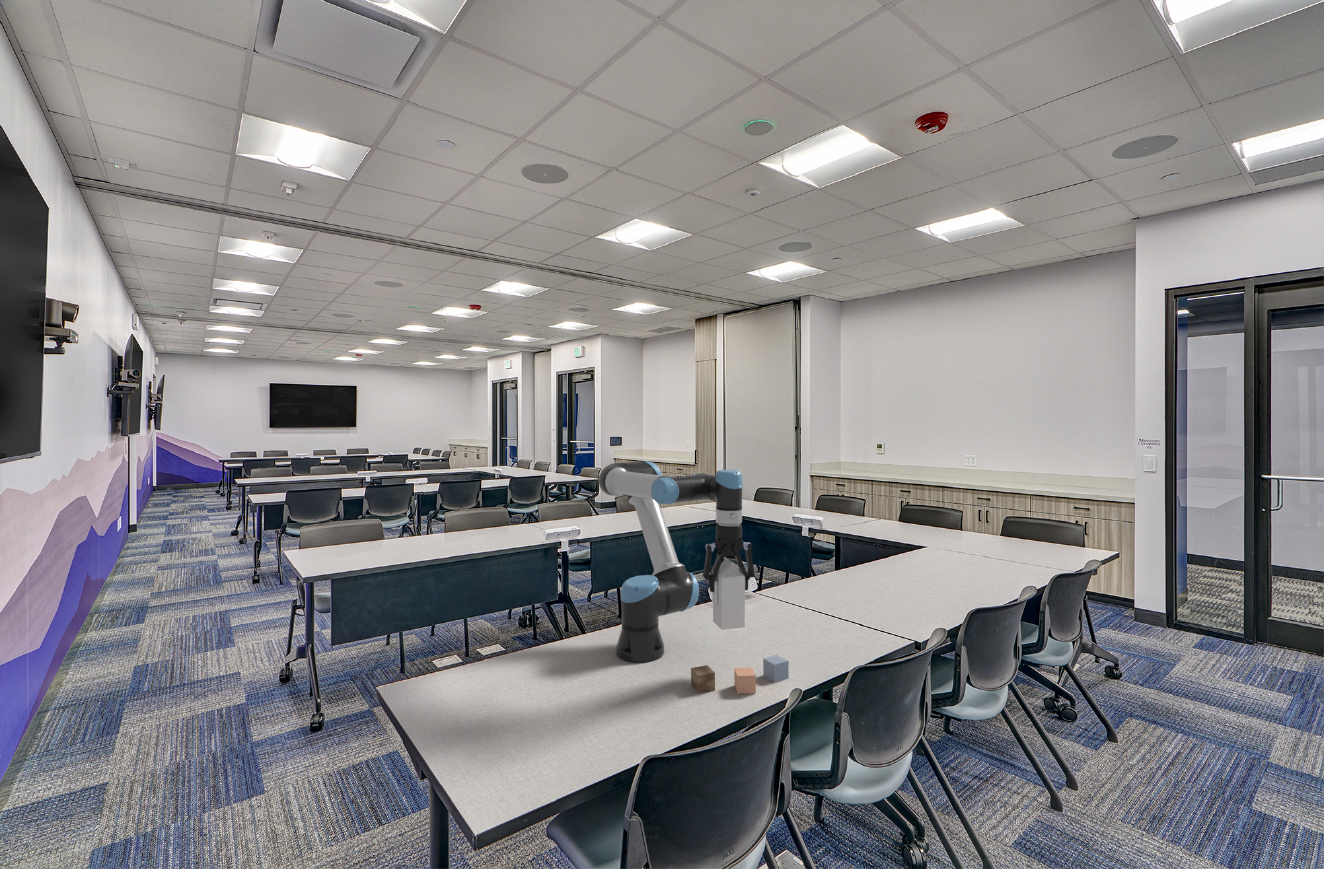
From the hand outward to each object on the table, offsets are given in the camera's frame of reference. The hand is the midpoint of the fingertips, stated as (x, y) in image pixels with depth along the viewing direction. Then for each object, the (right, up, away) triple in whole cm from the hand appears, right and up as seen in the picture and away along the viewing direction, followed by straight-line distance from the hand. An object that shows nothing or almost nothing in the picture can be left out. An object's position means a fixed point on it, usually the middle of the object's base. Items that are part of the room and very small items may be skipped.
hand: (728, 601), depth 167 cm
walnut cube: (-8, -21, -9) cm, 24 cm away
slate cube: (+13, -21, -3) cm, 25 cm away
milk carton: (0, -7, 0) cm, 7 cm away
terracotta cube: (+3, -21, -11) cm, 24 cm away
